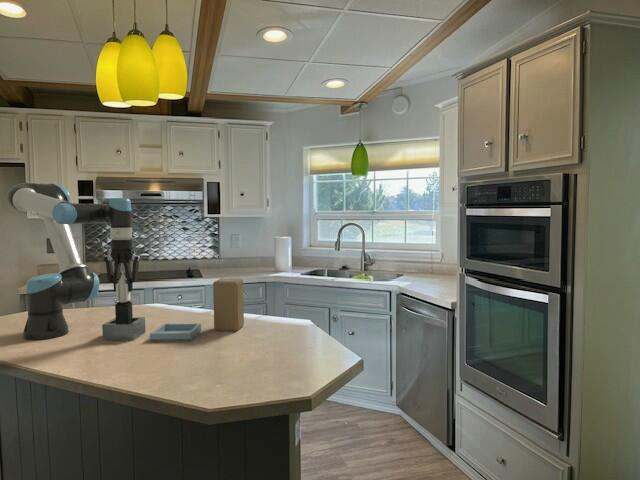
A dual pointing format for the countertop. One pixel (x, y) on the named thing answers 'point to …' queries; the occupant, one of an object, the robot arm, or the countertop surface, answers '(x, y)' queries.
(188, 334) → the tray
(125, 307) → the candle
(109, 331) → the collar
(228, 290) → the wooden block
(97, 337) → the countertop surface
